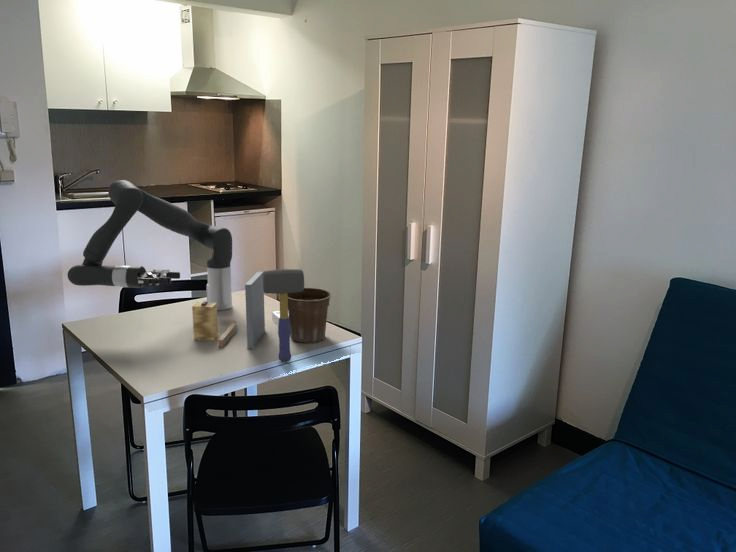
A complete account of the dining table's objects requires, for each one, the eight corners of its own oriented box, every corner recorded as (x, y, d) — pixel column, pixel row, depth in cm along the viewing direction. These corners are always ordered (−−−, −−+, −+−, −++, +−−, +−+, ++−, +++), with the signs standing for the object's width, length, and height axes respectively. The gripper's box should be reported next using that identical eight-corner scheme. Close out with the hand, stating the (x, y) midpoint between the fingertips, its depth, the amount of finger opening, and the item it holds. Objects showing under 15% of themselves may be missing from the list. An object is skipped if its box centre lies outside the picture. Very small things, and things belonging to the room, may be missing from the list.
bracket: (301, 328, 223) (301, 308, 221) (283, 330, 220) (282, 310, 218) (289, 318, 234) (289, 299, 233) (272, 320, 231) (271, 301, 229)
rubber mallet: (266, 367, 185) (263, 273, 178) (264, 358, 192) (261, 267, 185) (306, 364, 188) (305, 271, 181) (302, 355, 195) (301, 265, 188)
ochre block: (194, 339, 209) (192, 304, 206) (198, 334, 213) (196, 300, 210) (213, 340, 208) (212, 304, 205) (218, 335, 213) (216, 300, 210)
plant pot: (340, 338, 212) (340, 294, 208) (302, 349, 201) (302, 302, 197) (313, 327, 223) (313, 285, 220) (276, 336, 213) (275, 292, 209)
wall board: (218, 347, 202) (215, 283, 197) (232, 329, 219) (230, 271, 214) (253, 348, 201) (251, 284, 196) (264, 330, 219) (263, 271, 213)
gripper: (119, 270, 200) (167, 272, 199) (137, 261, 214) (182, 263, 213) (120, 292, 202) (168, 294, 201) (138, 282, 216) (183, 283, 215)
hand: (175, 278), depth 207 cm, fingers open, 8 cm apart
